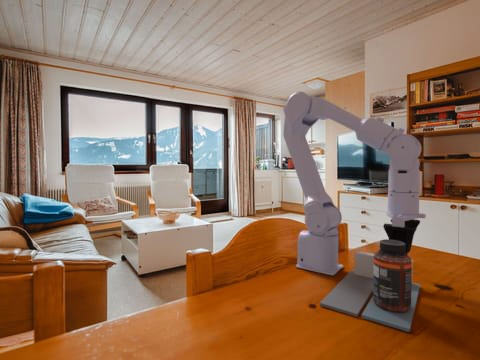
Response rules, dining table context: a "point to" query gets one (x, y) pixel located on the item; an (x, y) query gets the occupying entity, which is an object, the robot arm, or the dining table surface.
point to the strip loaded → (390, 317)
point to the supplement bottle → (392, 276)
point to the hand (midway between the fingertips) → (401, 255)
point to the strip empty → (353, 287)
